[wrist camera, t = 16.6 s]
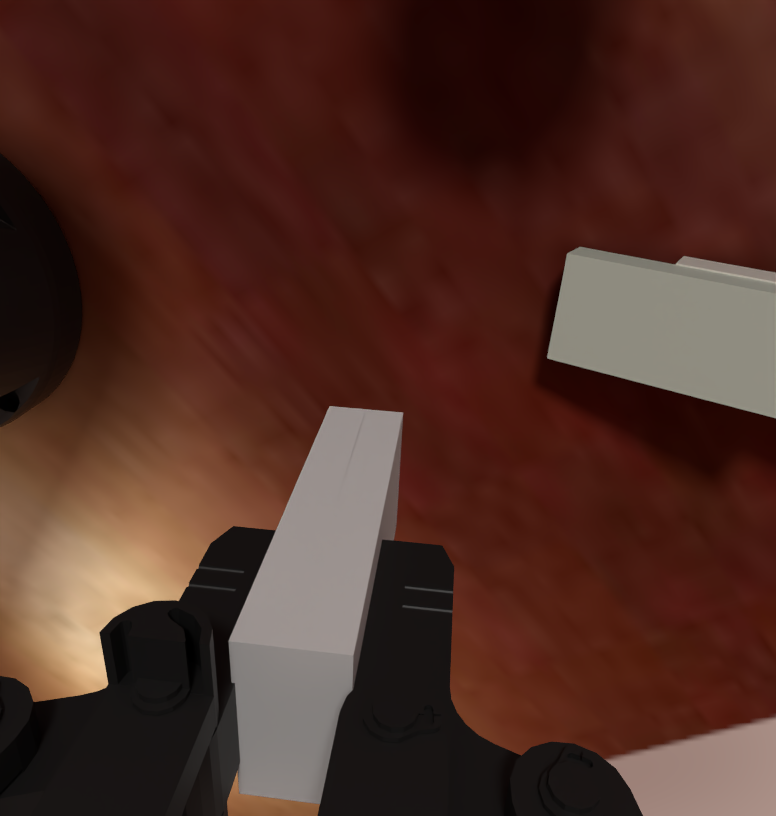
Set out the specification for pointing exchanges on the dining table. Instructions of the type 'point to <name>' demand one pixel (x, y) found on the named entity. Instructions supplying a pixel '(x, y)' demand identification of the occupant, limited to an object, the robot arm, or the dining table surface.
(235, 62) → the dining table surface
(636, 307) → the end tile
